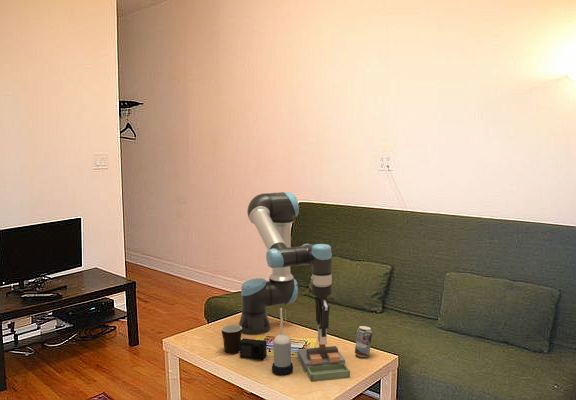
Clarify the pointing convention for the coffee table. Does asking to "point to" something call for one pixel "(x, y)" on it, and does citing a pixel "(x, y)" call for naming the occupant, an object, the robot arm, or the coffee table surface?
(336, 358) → the tile
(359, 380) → the coffee table surface
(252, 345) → the digital camera
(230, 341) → the coffee mug
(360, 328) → the beverage can
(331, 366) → the box
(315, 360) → the tile
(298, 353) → the grey flat block
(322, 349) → the scraper
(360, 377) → the coffee table surface
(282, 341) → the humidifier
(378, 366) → the coffee table surface
